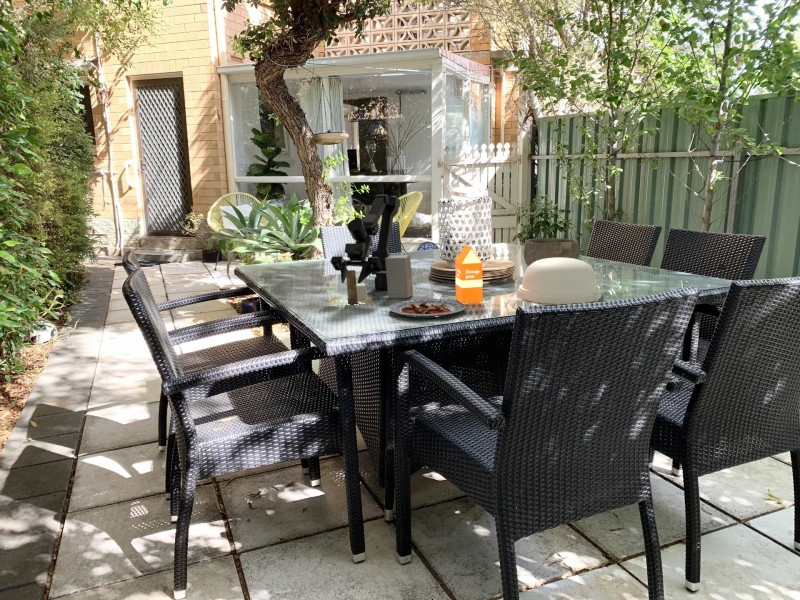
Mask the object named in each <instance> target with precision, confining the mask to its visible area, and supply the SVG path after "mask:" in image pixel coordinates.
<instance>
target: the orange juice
mask: <svg viewBox="0 0 800 600" xmlns="http://www.w3.org/2000/svg"><path fill="white" fill-rule="evenodd" d="M483 281H484V280H483V262H482V261H481V259H480V258H479V256H478V255H477V253H476V252H475V251H474V249H473V248H472V247H471V246H468V245H466V244H465V245H464V246H463V249H461V251H460V253H459V255H458V256H457V258H456V259H455V300H456V299H457V300H458V301H459V302H461V303H477V304H481V303H480V302H482V303H483ZM457 300H456V301H457Z"/></svg>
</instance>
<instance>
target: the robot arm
mask: <svg viewBox="0 0 800 600" xmlns="http://www.w3.org/2000/svg"><path fill="white" fill-rule="evenodd" d="M400 207H401V200H400V198H398V195H388V194H376V195H375V196H374V199H373V203H372V205H371V206H370V209H369V211H368V212H367V214H366V215H365V216H363V217H360V216H358V217H357V216H355V217H354V219H352V220H350V221H349V222H348V223H347V226H346V227H347V229H348V233H350V236H351V238H352V239H353V240H354V243H349V242H348V243H345V245H344V253H346V257H347V258H348V259H344V257H343V256H340V255H338V256H337V255H335V256H333V255H332V257H331V259H330V261H329V262H330V263H331V266H332V267H333V269H334V270H335V271H339V272H340V281H341V283H342V284H343V283H345V281H346V280H347V279H346V271H349V269H348V267H356V268H357V267H359V268H360V267H361V271H360V273H359V276H358V277H357V279H358V280H357V283H358V284H360V283H363V281H364V280H366V278H367V277H369V276H370V275H375V277H374V289H375V290H376V291H388V287H387V274H386V262H385V258H387V257H389V256H392V255H391V253H390V245H391V244H390V243H391V238H392V229H393V224H394V223H393V221H394V218H395V217H396V215H398V213H399V209H400ZM380 218H381V220H380ZM379 220H380V221H381V222H380V226H379ZM378 233H379V234H378ZM377 234H378V243H377V248H376V250H374V251H372V253H371V256H370V255H369V250H370V248H371V247H372V246H373V244H374V243H373V241H372V236H373V237H375V236H377Z"/></svg>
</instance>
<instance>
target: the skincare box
mask: <svg viewBox="0 0 800 600" xmlns="http://www.w3.org/2000/svg"><path fill="white" fill-rule="evenodd" d="M385 262H386V274H387V287H388V290H387V297H388V299H390V298H391V299H392V298H394V299H408V298H410V297H412V296H413V295H414V290H413V277H412V276H413V275H412V263H411V255H410V254H408V255H407V254H406V255H404V254H403V255H391V256H389V257H387V258H385Z"/></svg>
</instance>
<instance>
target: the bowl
mask: <svg viewBox="0 0 800 600" xmlns="http://www.w3.org/2000/svg"><path fill="white" fill-rule="evenodd" d="M579 246H580V245H579V241H578V240H577V239H573V238H572V239H571V238H557V237H556V238H555V237H554V238H552V237H550V238H549V237H548V238H547V237H546V238H545V237H543V238H542V237H541V238H530V239H529V238H528V239H527V240H526V241H525V243H524V246H523V247H524V248H523V259H524V262H525V264H526V266H527V268H528V267H529V266H530V265H531V264H532V263H534V262H535V261H538V260H541V259H546V258H573V259H578V260H579V258H580V257H579V256H580V247H579Z"/></svg>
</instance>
